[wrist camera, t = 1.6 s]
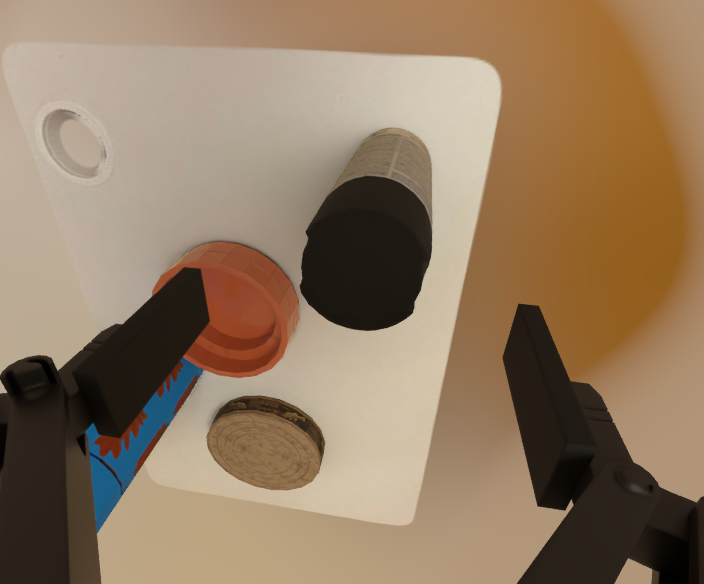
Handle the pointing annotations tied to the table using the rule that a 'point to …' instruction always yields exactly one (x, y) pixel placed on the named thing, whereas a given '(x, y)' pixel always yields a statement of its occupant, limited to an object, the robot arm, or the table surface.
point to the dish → (239, 309)
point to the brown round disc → (266, 443)
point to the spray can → (372, 235)
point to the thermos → (135, 440)
